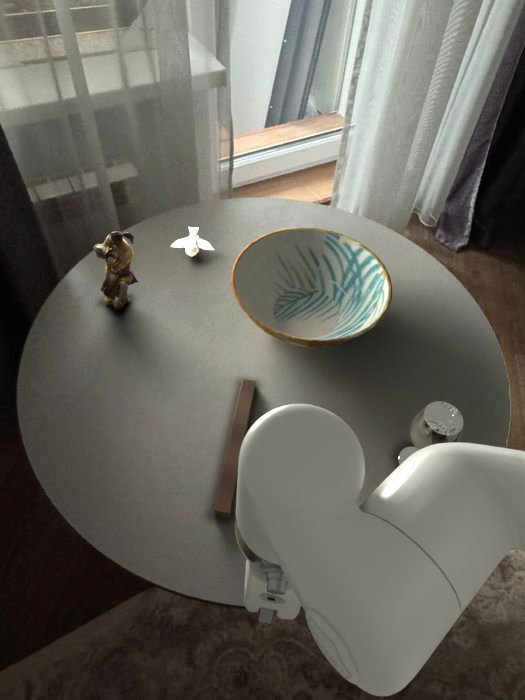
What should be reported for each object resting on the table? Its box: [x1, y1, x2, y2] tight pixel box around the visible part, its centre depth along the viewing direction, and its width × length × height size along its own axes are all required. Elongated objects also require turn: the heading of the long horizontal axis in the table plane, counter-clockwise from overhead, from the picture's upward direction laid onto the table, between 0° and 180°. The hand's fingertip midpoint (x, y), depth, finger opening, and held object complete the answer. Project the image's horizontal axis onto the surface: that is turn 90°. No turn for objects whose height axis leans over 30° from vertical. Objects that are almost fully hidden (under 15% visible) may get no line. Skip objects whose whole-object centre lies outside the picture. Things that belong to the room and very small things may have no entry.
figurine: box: [93, 230, 139, 311], centre depth 78 cm, size 7×6×15 cm
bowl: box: [230, 226, 393, 348], centre depth 82 cm, size 25×25×8 cm
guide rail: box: [213, 378, 256, 518], centre depth 69 cm, size 20×2×2 cm, turn 171°
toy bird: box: [169, 226, 215, 257], centre depth 91 cm, size 8×5×5 cm, turn 87°
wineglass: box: [397, 400, 464, 465], centre depth 64 cm, size 6×6×12 cm
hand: (268, 576), depth 53 cm, fingers closed
